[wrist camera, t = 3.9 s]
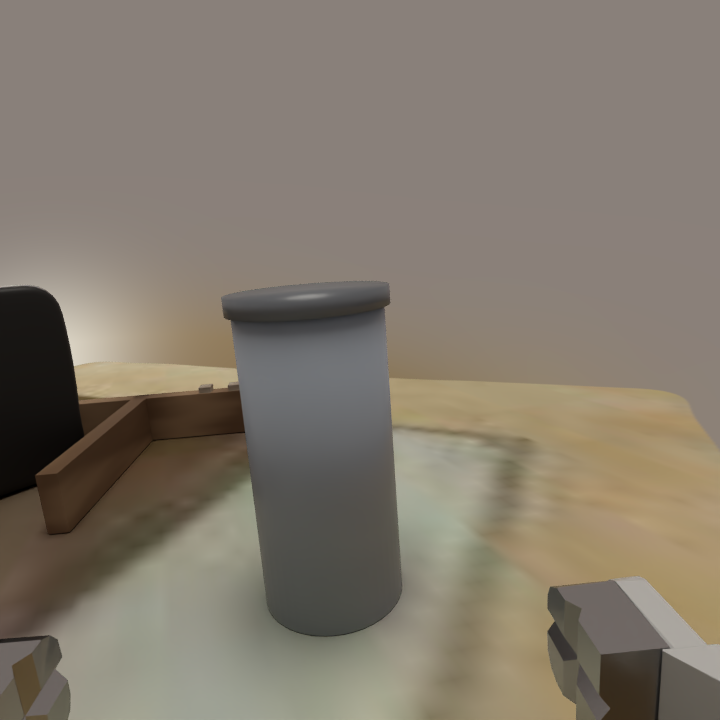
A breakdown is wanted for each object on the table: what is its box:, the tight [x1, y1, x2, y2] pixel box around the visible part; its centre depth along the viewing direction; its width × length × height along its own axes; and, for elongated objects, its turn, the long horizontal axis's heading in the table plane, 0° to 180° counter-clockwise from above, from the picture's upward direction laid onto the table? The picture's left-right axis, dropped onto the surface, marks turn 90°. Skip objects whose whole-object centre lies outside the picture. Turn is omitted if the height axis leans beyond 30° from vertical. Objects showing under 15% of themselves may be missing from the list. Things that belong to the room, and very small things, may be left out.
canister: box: [221, 281, 402, 636], centre depth 18 cm, size 5×5×11 cm
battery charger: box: [0, 285, 85, 496], centre depth 30 cm, size 7×4×11 cm, turn 141°
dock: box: [35, 382, 245, 534], centre depth 31 cm, size 23×13×3 cm, turn 93°
